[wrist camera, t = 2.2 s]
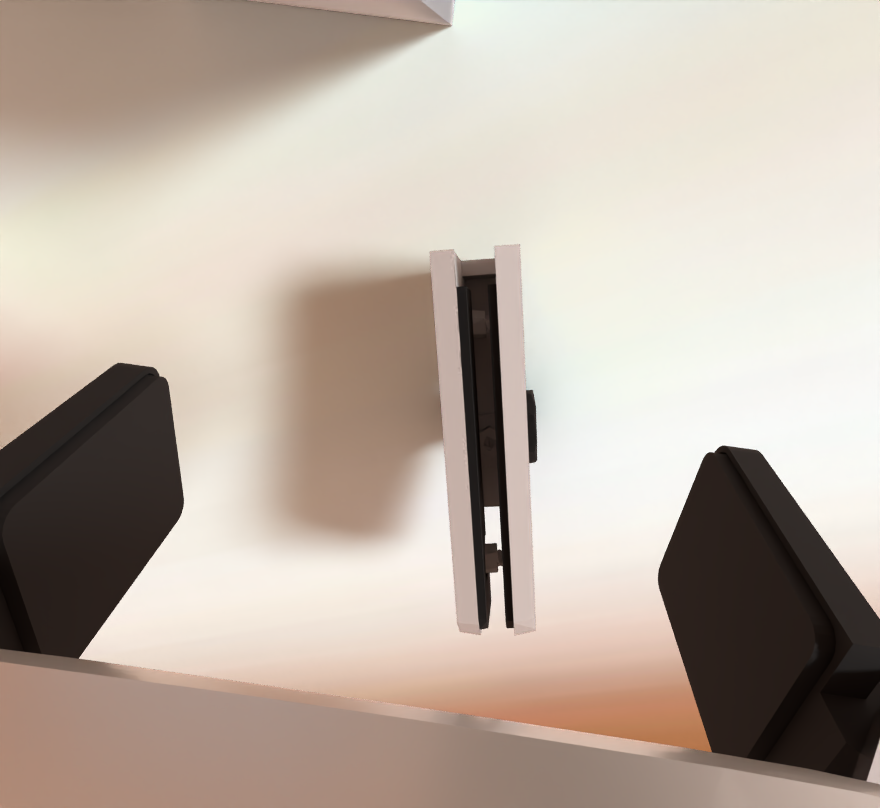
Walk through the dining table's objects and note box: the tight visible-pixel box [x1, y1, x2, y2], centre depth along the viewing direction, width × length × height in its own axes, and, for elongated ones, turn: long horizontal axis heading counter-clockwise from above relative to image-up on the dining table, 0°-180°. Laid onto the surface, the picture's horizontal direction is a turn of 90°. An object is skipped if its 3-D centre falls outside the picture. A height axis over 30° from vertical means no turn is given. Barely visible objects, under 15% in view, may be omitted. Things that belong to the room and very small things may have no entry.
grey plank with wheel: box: [430, 244, 537, 635], centre depth 24 cm, size 4×10×15 cm
